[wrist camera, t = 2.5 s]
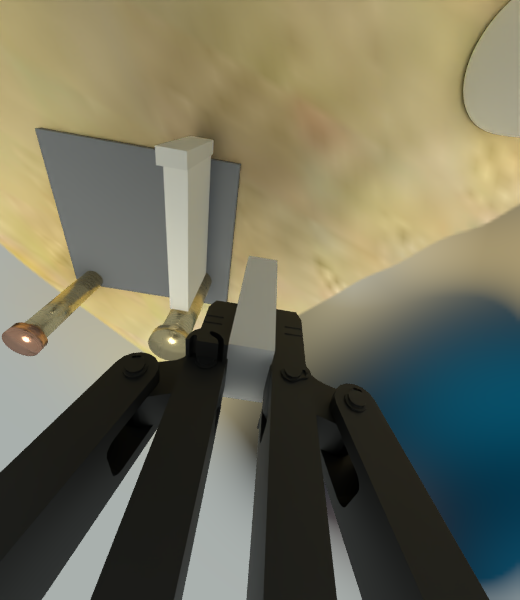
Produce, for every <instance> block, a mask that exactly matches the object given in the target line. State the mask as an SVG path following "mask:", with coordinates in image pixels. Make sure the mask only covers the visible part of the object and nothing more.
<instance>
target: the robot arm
mask: <svg viewBox="0 0 520 600" xmlns="http://www.w3.org/2000/svg"><path fill="white" fill-rule="evenodd" d="M276 296H277V260H272V259H266V258H260V257H254V256H249V257H248V262H247V266H246V270H245V275H244V279H243V283H242V288H241V292H240V296H239V301H238V304H236V303H230V302H224V301H218V300H216V301H215V302H214V303H213V304H212V305H210V306H209V308H208V311H207V314H206V316H205V319H204V323H203V324H202V327H201V329H197V330H195V331H193V332H191V333H189V335H188V336H187V337H186V339H185V344H186V356H185V357H183V358H180V359H178V360H172V361H164V362H158V361H157V360H156V358H155V357H154V356H152V355H150V354H147V353H142V352H140V353H132V354H129V355H126V356H124V357H122V358H121V359H119V360H118V361H117V362H115V364H113V365H112V366H111V367H110V368H109V369H108V370H107V371H106V372H105V373H104V374H103V375H102V376H101V377H100V378H99V379H98V380H97V381H96V382H95V383H94V384H93V385H92V386H90V387H89V388H88V389H87V390H86V391H85V392H84V393H83V394H82V395H81V396H80V397H79V398H78V399H77V400H76V401H75V402H74V403H73V404H72V405H70V406H69V407H68V408H67V409H66V410H65V411H64V412H63V413H62V414H61V415H60V416H59V417H58V418H57V419H56V420H55V421H54V422H53V423H52V424H51V425H50V426H49V427H47V428H46V429H45V430H44V431H43V432H42V433H41V434H40V435H39V436H38V437H37V438H36V439H35V440H34V441H33V442H32V443H31V444H30V445H29V446H28V447H27V448H25V449H24V451H22V452H21V453H20V454H19V455H18V456H17V457H16V458H15V459H14V460H13V461H12V462H11V463H10V464H9V465H8V466H7V467H6V468H4V470H2V471H1V472H0V600H42V598H43V597H44V595H45V594H46V592H47V591H48V590H49V588H50V587H51V585H52V584H53V582H54V581H55V579H56V578H57V576H58V575H59V573H60V572H61V570H62V569H63V567H64V566H65V564H66V563H67V561H68V560H69V558H70V557H71V555H72V554H73V553H74V551H75V550H76V548H77V547H78V545H79V544H80V542H81V541H82V539H83V538H84V536H85V535H86V533H87V532H88V530H89V529H90V527H91V526H92V524H93V523H94V521H95V520H96V518H97V517H98V515H99V514H100V512H101V511H102V510H103V508H104V507H105V505H106V503H107V502H108V501H109V499H110V498H111V496H112V495H113V493H114V492H115V490H116V489H117V487H118V486H119V484H120V483H121V481H122V480H123V479H124V477H125V475H126V474H127V473H128V471H129V469H130V468H131V467H132V465H133V464H134V462H135V461H136V459H137V458H138V456H139V455H140V453H141V452H142V450H143V449H144V447H145V446H146V444H147V443H148V441H149V440H150V439H151V437H152V436H153V434H154V432H155V431H156V430H157V431H156V434H155V437H154V439H153V442H152V444H151V447H150V449H149V452H148V454H147V457H146V459H145V462H144V465H143V467H142V470H141V472H140V475H139V478H138V480H137V482H136V485H135V488H134V490H133V493H132V495H131V498H130V500H129V503H128V505H127V508H126V511H125V513H124V516H123V518H122V521H121V523H120V526H119V528H118V531H117V534H116V536H115V539H114V541H113V544H112V547H111V549H110V552H109V554H108V556H107V559H106V562H105V564H104V567H103V569H102V572H101V574H100V577H99V579H98V582H97V584H96V587H95V590H94V592H93V595H92V597H91V600H182V595H183V591H184V586H185V581H186V577H187V571H188V566H189V562H190V557H191V552H192V547H193V542H194V537H195V532H196V527H197V522H198V518H199V512H200V508H201V503H202V498H203V493H204V488H205V483H206V478H207V473H208V469H209V463H210V458H211V454H212V449H213V444H214V439H215V433H216V429H217V424H218V419H219V415H220V409H221V401H222V397H228V398H235V399H242V400H249V401H255V402H262V400H263V406H262V412H261V415H260V419H259V423H258V426H257V428H258V429H259V440H258V452H257V465H256V479H255V492H254V506H253V520H252V533H251V547H250V561H249V574H248V587H247V600H337V596H336V587H335V578H334V569H333V560H332V552H331V544H330V534H329V525H328V516H327V507H326V498H325V489H324V482H323V478H324V481H325V485H326V488H327V491H328V494H329V497H330V500H331V503H332V506H333V509H334V513H335V516H336V519H337V522H338V525H339V528H340V531H341V534H342V537H343V541H344V544H345V546H346V550H347V553H348V556H349V559H350V562H351V565H352V569H353V572H354V575H355V578H356V581H357V584H358V587H359V590H360V594H361V597H362V600H489V598H488V597H487V595H486V593H485V591H484V590H483V588H482V586H481V584H480V583H479V581H478V579H477V577H476V576H475V574H474V572H473V571H472V569H471V567H470V565H469V564H468V562H467V560H466V558H465V557H464V555H463V553H462V551H461V550H460V548H459V546H458V544H457V543H456V541H455V539H454V538H453V536H452V534H451V532H450V530H449V529H448V527H447V525H446V524H445V522H444V520H443V518H442V517H441V515H440V513H439V512H438V510H437V508H436V506H435V504H434V503H433V501H432V499H431V498H430V496H429V494H428V492H427V491H426V489H425V487H424V485H423V484H422V482H421V480H420V478H419V477H418V475H417V473H416V471H415V470H414V468H413V466H412V464H411V463H410V461H409V459H408V457H407V456H406V454H405V453H404V451H403V449H402V447H401V445H400V444H399V442H398V440H397V438H396V437H395V435H394V433H393V432H392V430H391V428H390V426H389V425H388V423H387V421H386V419H385V418H384V416H383V414H382V412H381V411H380V409H379V407H378V405H377V404H376V402H375V400H374V399H373V398H372V397H371V395H370V394H369V393H368V392H367V391H366V390H364V389H363V388H361V387H359V386H357V385H354V384H343V385H340V386H339V387H338V388H337V389H335V388H332V387H330V386H328V385H325V384H323V383H322V382H320V381H318V380H317V379H315V378H314V377H313V376H312V375H311V373H310V371H309V369H308V368H307V367H306V364H305V354H304V344H303V333H302V323H301V319H300V318H299V316H298V315H297V313H296V312H290V311H284V310H278V309H276ZM157 428H158V429H157Z"/></svg>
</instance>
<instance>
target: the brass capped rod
mask: <svg viewBox="0 0 520 600" xmlns="http://www.w3.org/2000/svg"><path fill="white" fill-rule="evenodd" d="M102 283H103V279H102V277H101V276H100V275H99V274H98V273H96V272H94V271H87V272H86V273H84V274H83V275H82V276H81V277H80V278H78V279H77V280H76V281H75V282H73V283H72V284H71V285H70V286H69V287H67V288H66V289H65V290H64V291H63V292H61V293H60V294H59V295H58V296H56V297H55V298H54V299H53V300H52V301H51V302H49V303H48V304H47V305H46V306H44V307H43V308H42V309H41V310H40V311H38V312H37V313H36V314H35V315H33V317H31V318H30V319H29V320H28V321H26V322H25V323H16V324H14V325H13V326H12V327H10V328H9V329H8V330H7V331H5V332H4V333H3V334H2V340H3V342H4V343H5V344H6V345H7V346H8V347H9V348H10V349H11V350H13V351H15V352H17V353H19V354H22V355H26V356H35V355H37V354H38V353H39V352H40V351H41V350H42V349H43V348H44V347H45V346H46V345H47V343H48V339H47V337H48V336H49V335H50V334H51V333H52V332H53V331H54V330H55V329H56V328H57V327H58V326H59V325H60V324H61V323H62V322H63V321H64V320H65V319H67V318H68V316H70V315H71V314H72V313H73V311H75V310H76V309H77V308H78V307H79V306H80V305H81V304H82V303H83V302H84V301H85V300H86V299H87V298H88V297H89V296H90V295H91V294H92V293H93V292H94V291H96V290H97V289H98V288H99V287H100V286H101V285H102Z"/></svg>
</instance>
